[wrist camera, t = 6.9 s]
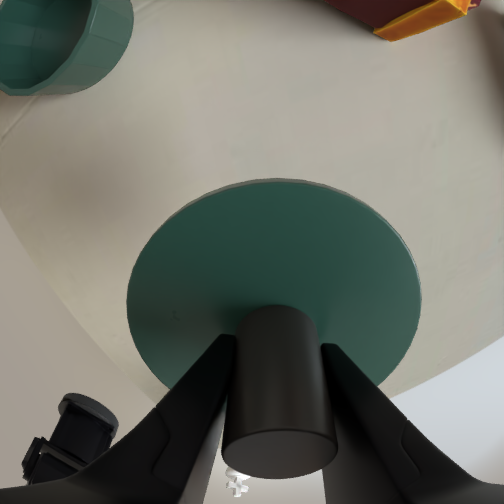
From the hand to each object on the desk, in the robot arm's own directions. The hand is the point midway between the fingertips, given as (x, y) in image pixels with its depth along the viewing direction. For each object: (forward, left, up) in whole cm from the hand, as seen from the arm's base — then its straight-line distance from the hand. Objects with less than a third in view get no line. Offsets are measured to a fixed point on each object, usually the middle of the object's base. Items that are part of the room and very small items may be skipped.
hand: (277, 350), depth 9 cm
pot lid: (0, 0, -1) cm, 1 cm away
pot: (-18, +3, -12) cm, 22 cm away
